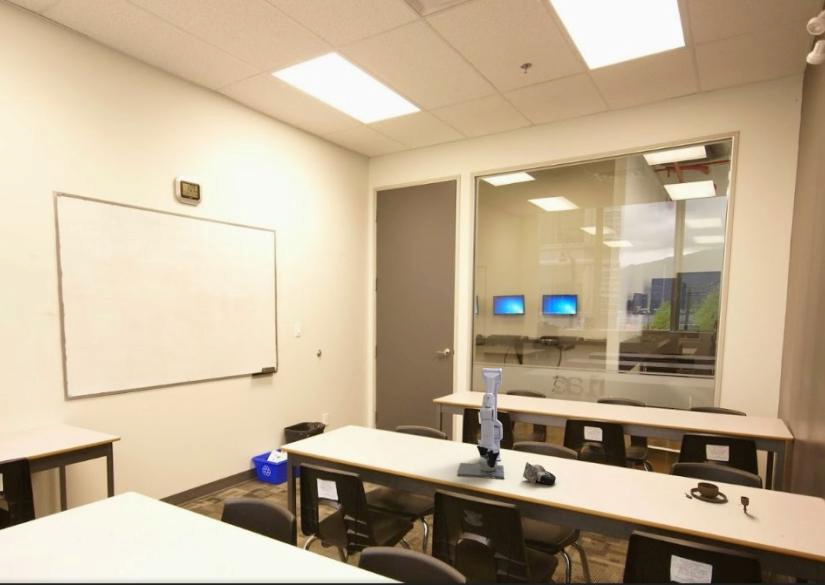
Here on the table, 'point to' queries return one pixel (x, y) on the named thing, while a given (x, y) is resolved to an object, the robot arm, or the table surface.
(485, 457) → the collar
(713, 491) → the place setting
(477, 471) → the plate
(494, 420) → the robot arm
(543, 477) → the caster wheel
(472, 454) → the table surface
